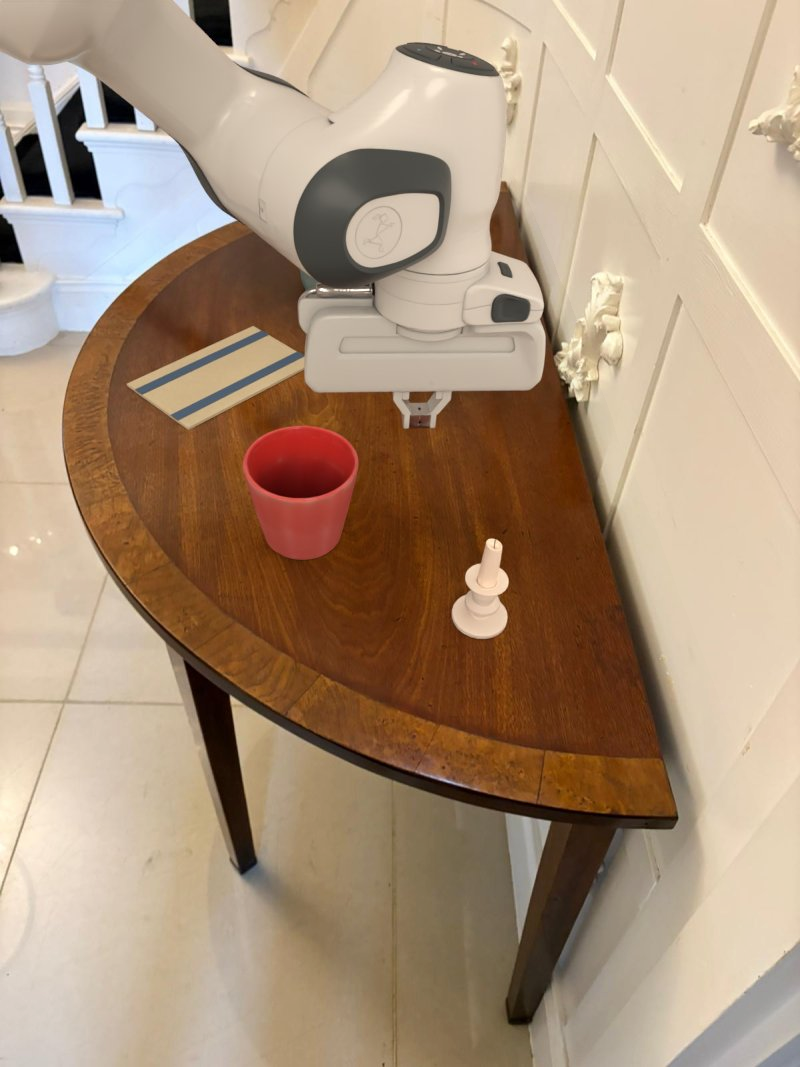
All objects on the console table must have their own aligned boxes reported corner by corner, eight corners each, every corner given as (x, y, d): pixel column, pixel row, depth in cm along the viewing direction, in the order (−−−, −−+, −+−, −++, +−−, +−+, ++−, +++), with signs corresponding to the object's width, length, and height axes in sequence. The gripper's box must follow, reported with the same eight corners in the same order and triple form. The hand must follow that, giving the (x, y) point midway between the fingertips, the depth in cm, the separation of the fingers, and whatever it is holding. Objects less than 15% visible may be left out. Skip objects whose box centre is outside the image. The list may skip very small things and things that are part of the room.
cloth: (188, 430, 90) (187, 427, 90) (126, 386, 96) (126, 383, 95) (314, 364, 101) (314, 361, 101) (253, 328, 107) (253, 325, 106)
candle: (500, 594, 76) (518, 516, 68) (512, 637, 72) (532, 560, 65) (447, 597, 75) (459, 519, 68) (456, 641, 71) (470, 563, 64)
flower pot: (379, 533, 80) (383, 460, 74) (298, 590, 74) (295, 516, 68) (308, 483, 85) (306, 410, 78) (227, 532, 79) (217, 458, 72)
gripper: (296, 303, 58) (303, 448, 68) (564, 303, 60) (533, 444, 70) (296, 263, 63) (302, 405, 72) (546, 264, 65) (519, 402, 75)
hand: (418, 424), depth 71 cm, fingers closed
